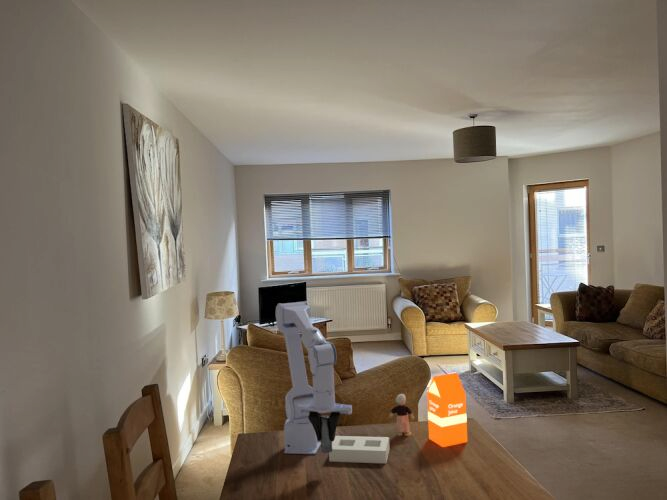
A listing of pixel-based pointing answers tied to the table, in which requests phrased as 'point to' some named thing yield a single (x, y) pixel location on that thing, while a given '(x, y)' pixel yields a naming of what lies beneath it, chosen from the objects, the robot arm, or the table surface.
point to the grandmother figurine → (402, 415)
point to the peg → (325, 434)
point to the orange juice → (447, 410)
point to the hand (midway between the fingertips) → (326, 439)
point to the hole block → (360, 449)
